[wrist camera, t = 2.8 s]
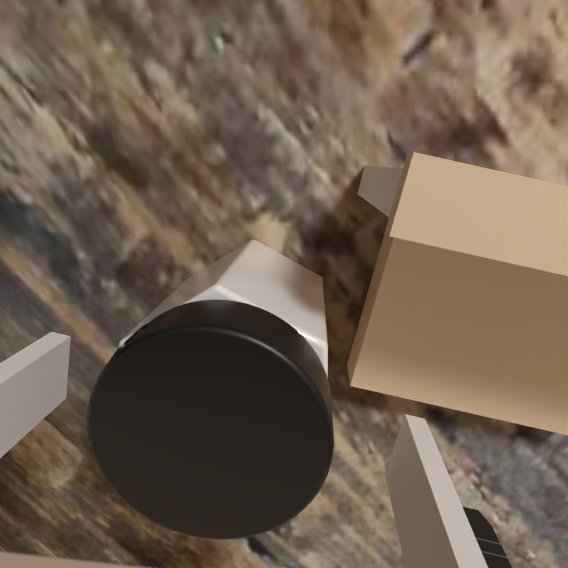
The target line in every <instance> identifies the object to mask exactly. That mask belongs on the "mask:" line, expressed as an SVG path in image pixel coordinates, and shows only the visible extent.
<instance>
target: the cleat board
mask: <svg viewBox="0 0 568 568" xmlns="http://www.w3.org/2000/svg"><path fill="white" fill-rule="evenodd" d="M357 194H358V195H359V196H361V197H362V198H363V199H365V200H366V201H367V202H369V203H370V204H371V205H373V206H374V207H375V208H377V209H378V210H379V211H381V212H382V213H383V214H385V215H386V216H387V217H389V219H388V223H387V226H386V230H385V233H384V237H383V240H382V244H381V247H380V251H379V254H378V258H377V261H376V265H375V268H374V272H373V275H372V279H371V282H370V286H369V289H368V293H367V296H366V300H365V303H364V307H363V310H362V314H361V317H360V321H359V324H358V328H357V331H356V335H355V338H354V342H353V345H352V349H351V352H350V356H349V359H348V363H347V369H348V375H349V382H350V386H352V387H357V388H361V389H366V390H370V391H374V392H379V393H383V394H388V395H392V396H397V397H401V398H405V399H410V400H414V401H419V402H423V403H427V404H432V405H436V406H441V407H445V408H450V409H454V410H458V411H463V412H467V413H472V414H476V415H480V416H485V417H489V418H494V419H498V420H503V421H507V422H511V423H516V424H520V425H525V426H529V427H533V428H538V429H542V430H547V431H551V432H556V433H560V434H564V435H568V186H564V185H559V184H555V183H550V182H546V181H541V180H537V179H532V178H528V177H523V176H519V175H514V174H510V173H505V172H501V171H496V170H492V169H487V168H482V167H478V166H473V165H469V164H464V163H460V162H455V161H451V160H446V159H442V158H437V157H433V156H428V155H424V154H419V153H415V152H412V153H407V157H406V160H405V164H404V167H403V168H391V167H377V166H364V170H363V174H362V178H361V181H360V185H359V189H358V193H357Z"/></svg>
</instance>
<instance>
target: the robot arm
mask: <svg viewBox="0 0 568 568" xmlns="http://www.w3.org/2000/svg"><path fill="white" fill-rule="evenodd" d="M69 351H70V336H67V335H63V334H58V333H54V332H50V333H49V334H47V335H45V336H44V337H42V338H41V339H39V340H37V341H36V342H34V343H32V344H31V345H29V346H28V347H26V348H24V349H23V350H21V351H19V352H18V353H16V354H15V355H13V356H11V357H10V358H8V359H6V360H5V361H3V362H2V363H0V458H1V457H2V456H3V455H4V454H5V453H7V452H8V451H9V450H10V449H11V448H12V447H13V446H14V445H15V444H16V443H17V442H19V441H20V440H21V439H22V438H23V437H24V436H25V435H26V434H27V433H28V432H30V431H31V430H32V429H33V428H34V427H35V426H36V425H37V424H38V423H39V422H40V421H42V420H43V419H44V418H45V417H46V416H47V415H48V414H49V413H50V412H51V411H52V410H54V409H55V408H56V407H57V406H58V405H59V404H60V403H61V402H62V401H63V400H65V399H66V393H67V379H68V365H69ZM385 475H386V480H387V485H388V489H389V494H390V498H391V503H392V508H393V512H394V517H395V521H396V526H397V530H398V535H399V540H400V544H401V549H402V553H403V558H404V563H405V567H406V568H512V567H511V565H510V563H509V561H508V559H506V554H505V552H504V550H503V548H502V546H501V545H499V543H500V542H499V540H498V538H497V536H496V534H495V532H494V530H493V528H492V526H491V525H490V523H489V522H488V521H487V520H486V519H485V518H484V516H483V515H482V514H481V513H480V512H479V511H478V510H474V509H470V508H466V507H462V505H461V503H460V500H459V498H458V495H457V493H456V491H455V488H454V486H453V484H452V481H451V479H450V477H449V474H448V472H447V470H446V467H445V465H444V462H443V460H442V458H441V455H440V453H439V451H438V448H437V446H436V444H435V441H434V439H433V437H432V434H431V432H430V429H429V427H428V425H427V422H426V420H425V419H424V418H419V417H415V416H411V415H406V414H405V416H404V419H403V422H402V425H401V428H400V431H399V434H398V437H397V439H396V442H395V445H394V448H393V451H392V454H391V457H390V460H389V463H388V466H387V469H386V472H385Z"/></svg>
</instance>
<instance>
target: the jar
mask: <svg viewBox="0 0 568 568" xmlns="http://www.w3.org/2000/svg"><path fill="white" fill-rule="evenodd" d="M87 429H88V437H89V442H90V446H91V450H92V453H93V456H94V459H95V461H96V463H97V465H98V467H99V469H100V471H101V473H102V474H103V476H104V478H105V479H106V481H107V482H108V483H109V485H110V486H111V487H112V489H113V490H114V491H115V492H116V493H117V494H118V495H119V496H120V497H121V498H122V499H123V500H124V501H125V502H126V503H127V504H128V505H129V506H130V507H132V508H133V509H134V510H135V511H137V512H138V513H140V514H141V515H143V516H144V517H146V518H147V519H149V520H151V521H152V522H154V523H156V524H159V525H161V526H163V527H165V528H167V529H170V530H172V531H175V532H179V533H182V534H185V535H189V536H194V537H199V538H206V539H239V538H245V537H250V536H254V535H258V534H262V533H265V532H267V531H270V530H272V529H275V528H277V527H279V526H281V525H283V524H284V523H286V522H288V521H289V520H291V519H292V518H294V517H295V516H296V515H298V514H299V513H300V512H301V511H302V510H303V509H305V508H306V507H307V506H308V504H309V503H310V502H311V501H312V500H313V499H314V497H315V496H316V495H317V494H318V492H319V490H320V489H321V487H322V485H323V484H324V481H325V479H326V477H327V475H328V472H329V468H330V465H331V461H332V456H333V448H334V434H333V419H332V405H331V393H330V386H329V382H328V341H327V327H326V313H325V299H324V285H323V278H322V277H321V276H320V275H318V274H316V273H314V272H313V271H311V270H309V269H307V268H305V267H303V266H302V265H300V264H298V263H296V262H294V261H292V260H291V259H289V258H287V257H285V256H283V255H282V254H280V253H278V252H276V251H274V250H272V249H271V248H269V247H267V246H265V245H263V244H262V243H260V242H258V241H256V240H250V241H248V242H247V243H245V244H243V245H242V246H240V247H238V248H237V249H235V250H233V251H232V252H230V253H229V254H227V255H225V256H224V257H222V258H220V259H219V260H217V261H215V262H214V263H212V264H210V265H209V266H207V267H205V268H204V269H202V270H200V271H199V272H197V273H195V274H194V275H192V276H190V277H189V278H188V279H187V280H186V281H185V282H184V283H183V284H182V285H180V286H179V287H178V288H177V289H176V290H175V291H174V292H173V293H172V294H171V295H170V296H169V297H167V298H166V299H165V300H164V301H163V302H162V303H161V304H160V305H159V306H158V307H157V308H155V309H154V310H153V311H152V312H151V313H150V314H149V315H148V316H147V317H146V318H145V319H143V320H142V321H141V322H140V323H139V324H138V325H137V326H136V327H135V328H134V329H133V330H131V331H130V332H129V333H128V334H127V335H126V336H125V337H124V338H123V339H122V340H121V341H120V343H119V349H118V350H117V351H116V352H115V353H114V355H113V356H112V358H111V360H110V361H109V362H108V363H107V364H106V366H105V367H104V368H103V370H102V372H101V373H100V375H99V377H98V379H97V381H96V383H95V385H94V387H93V390H92V393H91V396H90V400H89V405H88V413H87Z"/></svg>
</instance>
